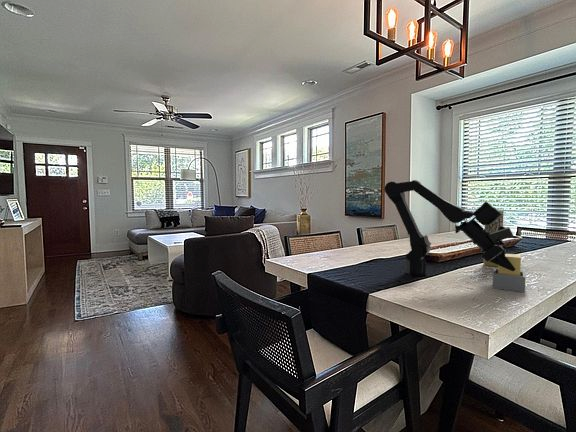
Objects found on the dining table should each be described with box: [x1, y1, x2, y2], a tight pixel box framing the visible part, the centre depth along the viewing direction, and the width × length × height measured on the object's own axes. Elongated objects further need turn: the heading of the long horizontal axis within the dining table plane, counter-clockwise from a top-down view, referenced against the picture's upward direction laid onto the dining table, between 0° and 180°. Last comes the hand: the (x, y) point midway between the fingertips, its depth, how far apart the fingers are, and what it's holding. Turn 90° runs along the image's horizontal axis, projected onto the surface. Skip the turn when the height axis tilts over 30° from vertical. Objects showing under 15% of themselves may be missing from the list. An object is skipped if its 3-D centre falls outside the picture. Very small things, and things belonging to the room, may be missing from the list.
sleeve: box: [492, 267, 527, 293], centre depth 107 cm, size 9×9×5 cm
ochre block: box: [497, 253, 522, 276], centre depth 107 cm, size 6×6×11 cm
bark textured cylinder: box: [482, 208, 504, 268], centre depth 138 cm, size 7×7×25 cm
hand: (514, 268), depth 106 cm, fingers closed on ochre block, 6 cm apart
